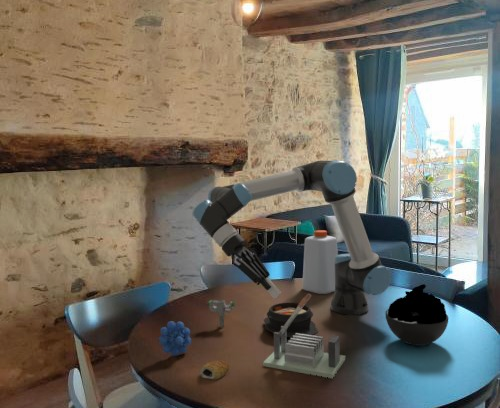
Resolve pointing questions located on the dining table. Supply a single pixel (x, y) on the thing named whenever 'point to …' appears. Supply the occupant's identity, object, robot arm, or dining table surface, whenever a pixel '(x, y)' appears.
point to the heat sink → (306, 349)
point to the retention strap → (295, 313)
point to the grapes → (175, 338)
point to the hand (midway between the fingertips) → (277, 295)
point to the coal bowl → (417, 317)
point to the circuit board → (319, 369)
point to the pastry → (214, 369)
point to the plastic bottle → (319, 263)
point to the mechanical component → (220, 309)
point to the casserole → (283, 312)
